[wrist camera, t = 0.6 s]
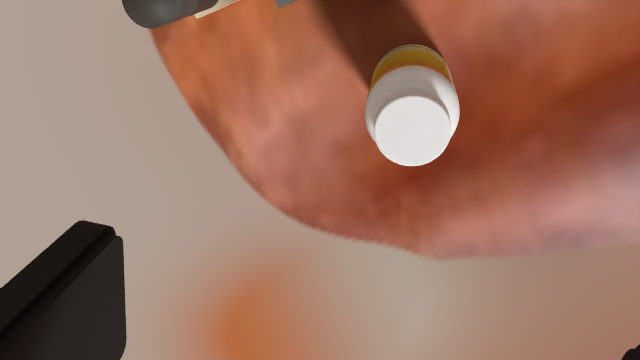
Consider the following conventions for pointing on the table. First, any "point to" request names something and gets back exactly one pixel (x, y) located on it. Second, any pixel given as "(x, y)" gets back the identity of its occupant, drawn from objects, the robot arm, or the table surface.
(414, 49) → the supplement bottle
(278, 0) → the guide block
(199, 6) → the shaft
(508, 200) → the table surface
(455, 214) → the table surface
